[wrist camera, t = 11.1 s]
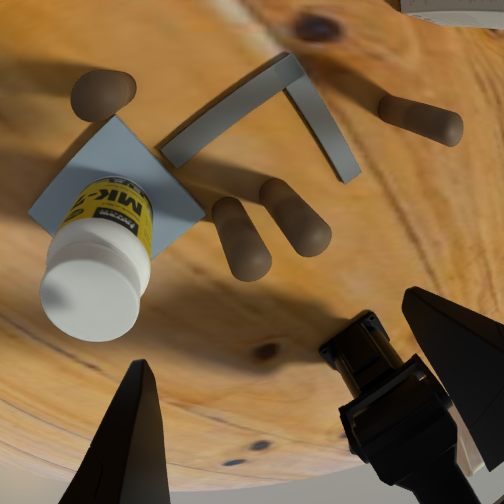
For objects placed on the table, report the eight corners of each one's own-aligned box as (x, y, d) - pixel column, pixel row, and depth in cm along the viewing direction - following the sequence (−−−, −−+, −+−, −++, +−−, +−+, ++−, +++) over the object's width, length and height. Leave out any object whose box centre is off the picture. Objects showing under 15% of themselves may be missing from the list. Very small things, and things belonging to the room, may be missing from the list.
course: (411, 131, 20) (471, 156, 15) (246, 255, 22) (273, 314, 17) (309, -49, 12) (362, -81, 7) (93, 89, 14) (60, 98, 9)
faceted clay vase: (455, 377, 48) (506, 448, 33) (467, 399, 62) (502, 450, 47) (392, 427, 51) (434, 501, 36) (421, 436, 65) (452, 488, 50)
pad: (205, 210, 20) (206, 214, 19) (117, 285, 21) (116, 290, 20) (116, 114, 15) (114, 115, 15) (30, 208, 16) (27, 212, 16)
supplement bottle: (156, 175, 17) (152, 252, 10) (151, 248, 19) (152, 351, 12) (74, 172, 16) (19, 248, 9) (77, 246, 18) (44, 346, 11)
